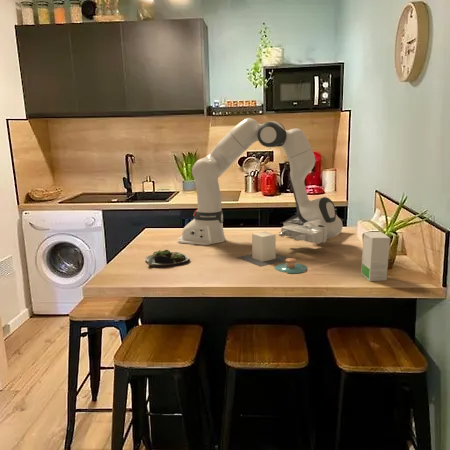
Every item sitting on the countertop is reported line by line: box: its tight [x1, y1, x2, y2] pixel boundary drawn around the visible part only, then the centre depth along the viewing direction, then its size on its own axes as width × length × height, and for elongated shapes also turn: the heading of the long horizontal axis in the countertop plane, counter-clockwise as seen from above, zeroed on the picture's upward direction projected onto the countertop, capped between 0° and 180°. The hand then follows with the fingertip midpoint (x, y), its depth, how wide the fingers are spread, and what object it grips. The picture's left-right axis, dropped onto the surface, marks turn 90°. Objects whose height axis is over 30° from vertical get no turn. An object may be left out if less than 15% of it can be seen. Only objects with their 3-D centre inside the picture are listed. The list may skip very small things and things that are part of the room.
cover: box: [251, 231, 277, 262], centre depth 189 cm, size 7×7×10 cm
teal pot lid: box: [274, 257, 308, 275], centre depth 177 cm, size 12×12×4 cm
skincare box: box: [360, 231, 391, 282], centre depth 164 cm, size 8×7×16 cm
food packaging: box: [281, 214, 345, 227], centre depth 230 cm, size 25×8×23 cm
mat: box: [235, 253, 288, 267], centre depth 190 cm, size 16×16×1 cm
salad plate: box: [144, 249, 191, 269], centre depth 191 cm, size 19×18×5 cm
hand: (287, 236), depth 195 cm, fingers open, 8 cm apart
